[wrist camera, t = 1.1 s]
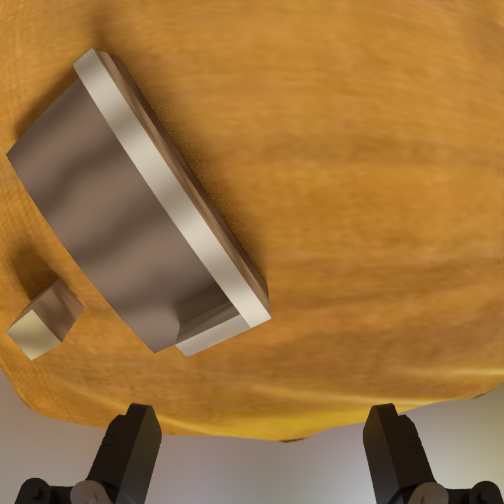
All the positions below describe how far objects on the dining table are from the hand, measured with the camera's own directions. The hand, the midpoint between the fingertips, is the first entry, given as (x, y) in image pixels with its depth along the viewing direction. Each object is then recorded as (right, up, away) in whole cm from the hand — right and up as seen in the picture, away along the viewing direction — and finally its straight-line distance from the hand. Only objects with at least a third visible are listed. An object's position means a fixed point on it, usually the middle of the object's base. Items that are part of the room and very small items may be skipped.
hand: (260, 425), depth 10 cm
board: (-11, +10, +18) cm, 23 cm away
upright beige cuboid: (-24, 0, +22) cm, 32 cm away
